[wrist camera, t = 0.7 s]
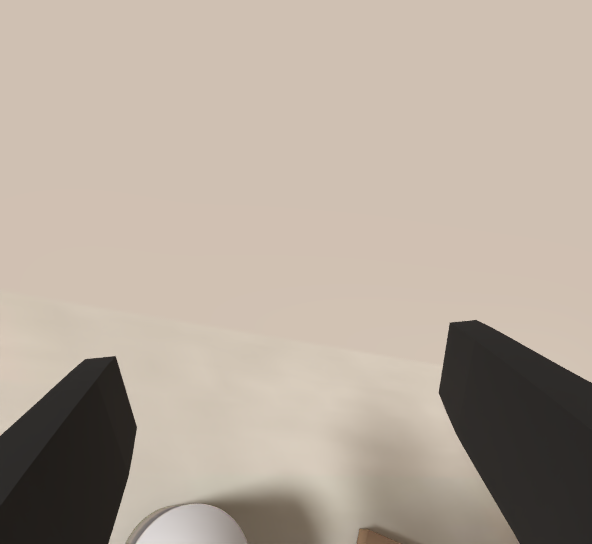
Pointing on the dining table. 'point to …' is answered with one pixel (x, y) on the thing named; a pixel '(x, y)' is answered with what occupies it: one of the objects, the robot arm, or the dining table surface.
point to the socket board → (373, 538)
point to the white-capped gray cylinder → (188, 526)
